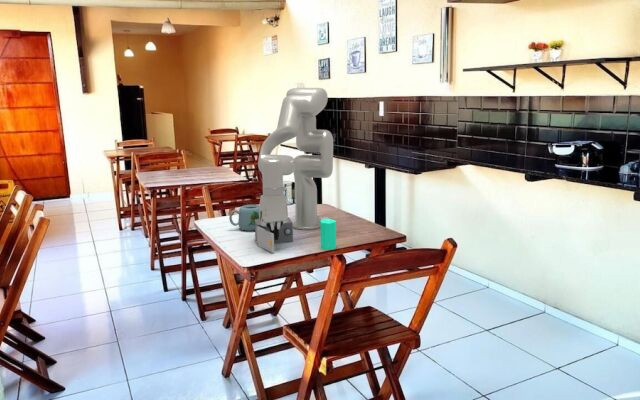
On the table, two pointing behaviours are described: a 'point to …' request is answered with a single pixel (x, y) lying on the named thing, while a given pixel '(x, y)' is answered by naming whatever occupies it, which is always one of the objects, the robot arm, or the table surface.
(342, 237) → the table surface
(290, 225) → the camera body
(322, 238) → the candle
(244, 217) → the mug
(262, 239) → the side door
